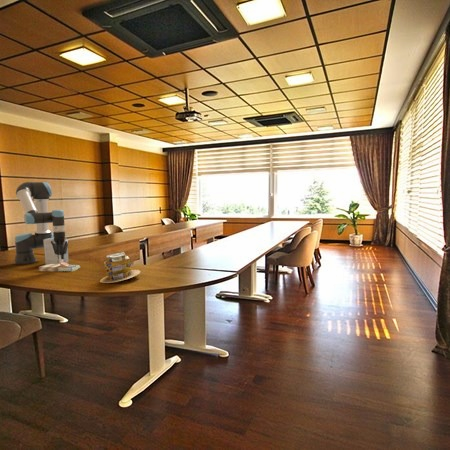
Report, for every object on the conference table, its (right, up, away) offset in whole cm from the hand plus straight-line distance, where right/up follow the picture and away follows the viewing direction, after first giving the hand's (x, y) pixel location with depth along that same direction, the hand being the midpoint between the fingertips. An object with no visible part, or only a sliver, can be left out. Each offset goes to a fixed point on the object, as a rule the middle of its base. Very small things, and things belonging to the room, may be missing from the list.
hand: (61, 263), depth 222 cm
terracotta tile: (+2, -3, 0) cm, 3 cm away
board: (-7, -4, +1) cm, 8 cm away
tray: (+6, -4, 0) cm, 7 cm away
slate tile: (+7, -1, -1) cm, 8 cm away
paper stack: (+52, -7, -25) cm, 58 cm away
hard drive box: (-15, -3, +21) cm, 26 cm away
